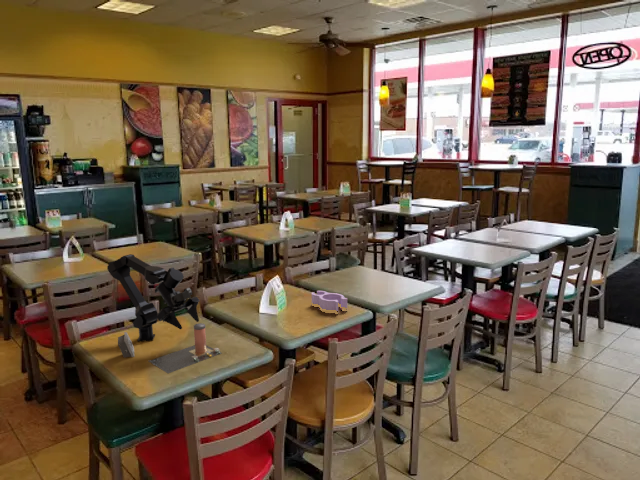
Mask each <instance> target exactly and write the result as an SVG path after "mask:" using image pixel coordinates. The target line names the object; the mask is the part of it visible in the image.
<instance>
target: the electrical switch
mask: <svg viewBox="0 0 640 480" xmlns="http://www.w3.org/2000/svg"><path fill="white" fill-rule="evenodd" d="M117 346H118V348H119V350H120V352H121V355H122V356H123V358H130V357H131V358H135V347H134V345H133V342H132V340H131V339H130V336H129V334H128V332H127V331H124V334H122V335H120V336H118V337H117Z"/></svg>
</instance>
